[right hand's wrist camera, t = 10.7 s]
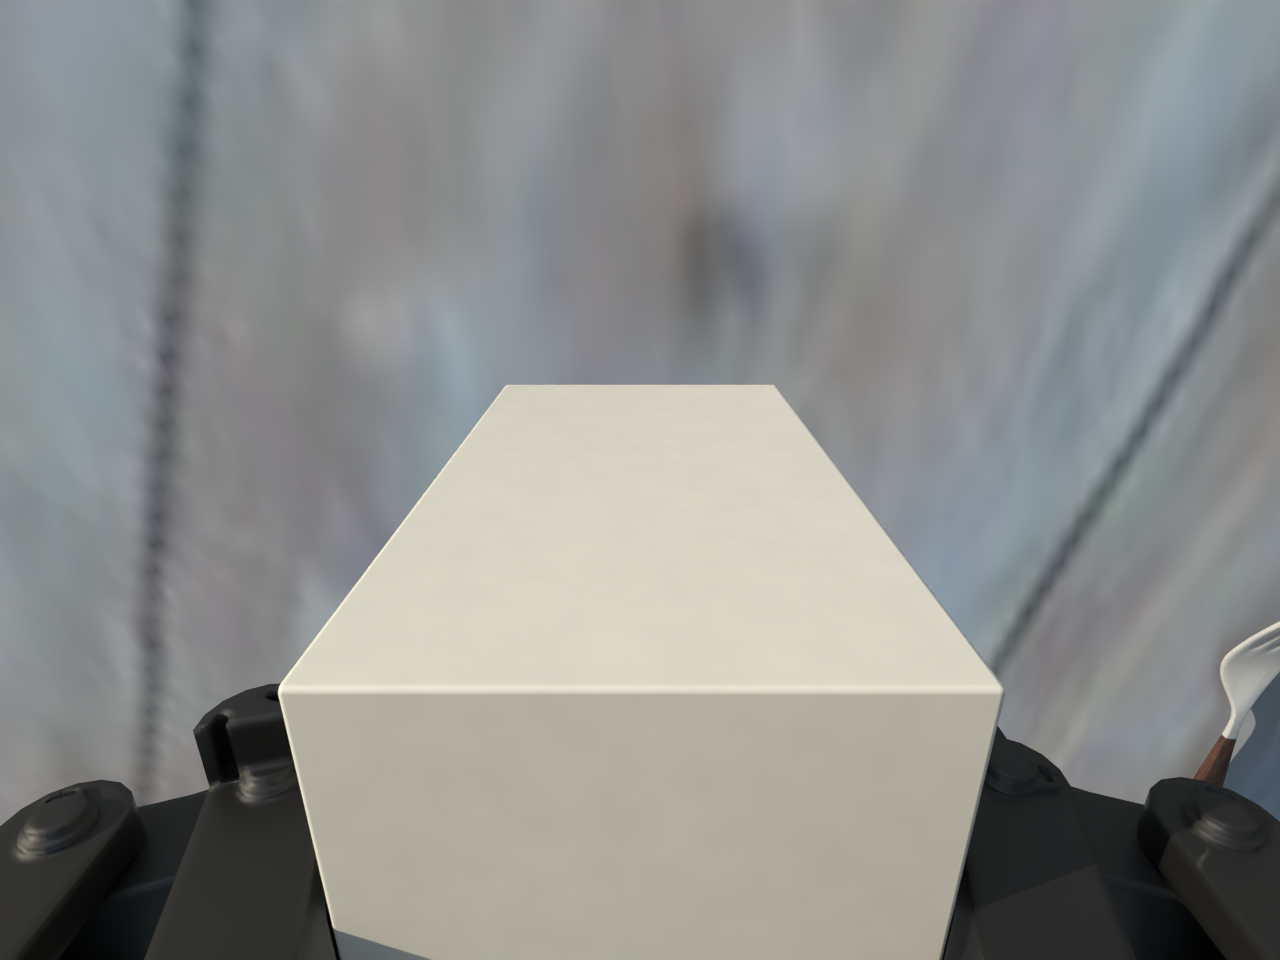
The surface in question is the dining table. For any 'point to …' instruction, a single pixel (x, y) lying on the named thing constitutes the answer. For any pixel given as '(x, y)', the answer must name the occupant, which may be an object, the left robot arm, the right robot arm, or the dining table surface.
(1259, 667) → the fork
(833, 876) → the bar
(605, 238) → the dining table surface
